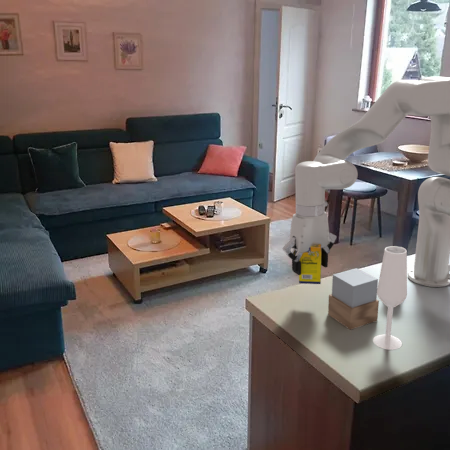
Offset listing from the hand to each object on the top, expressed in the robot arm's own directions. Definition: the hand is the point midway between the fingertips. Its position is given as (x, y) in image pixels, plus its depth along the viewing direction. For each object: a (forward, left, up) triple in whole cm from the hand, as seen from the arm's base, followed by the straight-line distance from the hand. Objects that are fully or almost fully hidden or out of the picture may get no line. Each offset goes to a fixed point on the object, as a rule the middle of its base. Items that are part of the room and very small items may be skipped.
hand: (310, 269), depth 135 cm
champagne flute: (-5, +25, -11) cm, 28 cm away
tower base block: (-5, +12, -11) cm, 17 cm away
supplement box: (0, 0, -3) cm, 3 cm away
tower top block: (-6, +12, -5) cm, 14 cm away
